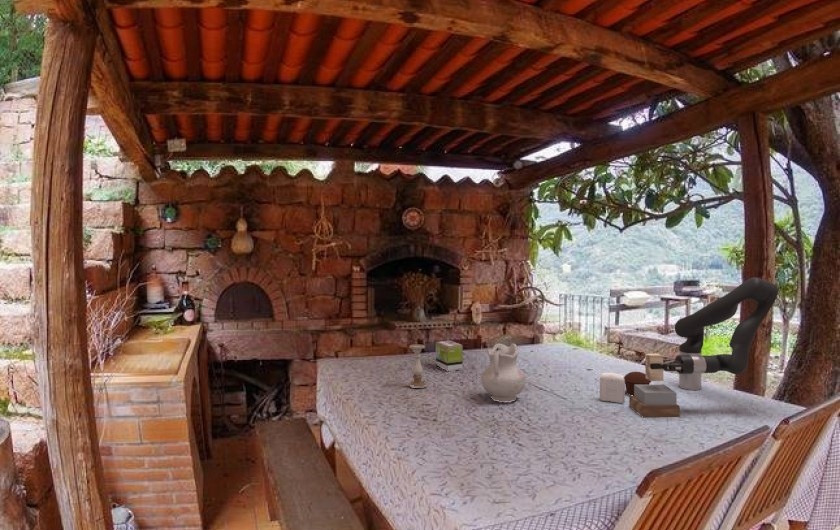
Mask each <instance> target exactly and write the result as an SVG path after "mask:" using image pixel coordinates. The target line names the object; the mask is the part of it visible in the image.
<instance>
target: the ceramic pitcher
mask: <svg viewBox="0 0 840 530" xmlns="http://www.w3.org/2000/svg"><path fill="white" fill-rule="evenodd" d="M486 351H487V356H488V358H489V366H488V367H487V368H486V369H485V370H483V371H482V373H481V376H480V380H481V384H482V387H483V389H484V390H485V392H486V393H487V394H489V395H491V396H490V397H492V398H493V399H495V400H499V401H511V400H516V398H517V397H516V396H517V395H519V394H520V393H522V392H523V390H524V389H525V385H526V375H525V373H524V371H522V370H521V369H520V368H519V367H518V366H517V357H518V355H519V350H518V345H517V344H516V343H513V342H511V343H510V346H507V345H505V344H502V343H496V344H494V345H493V346H492V349H487V350H486ZM516 401H517V400H516Z"/></svg>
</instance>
